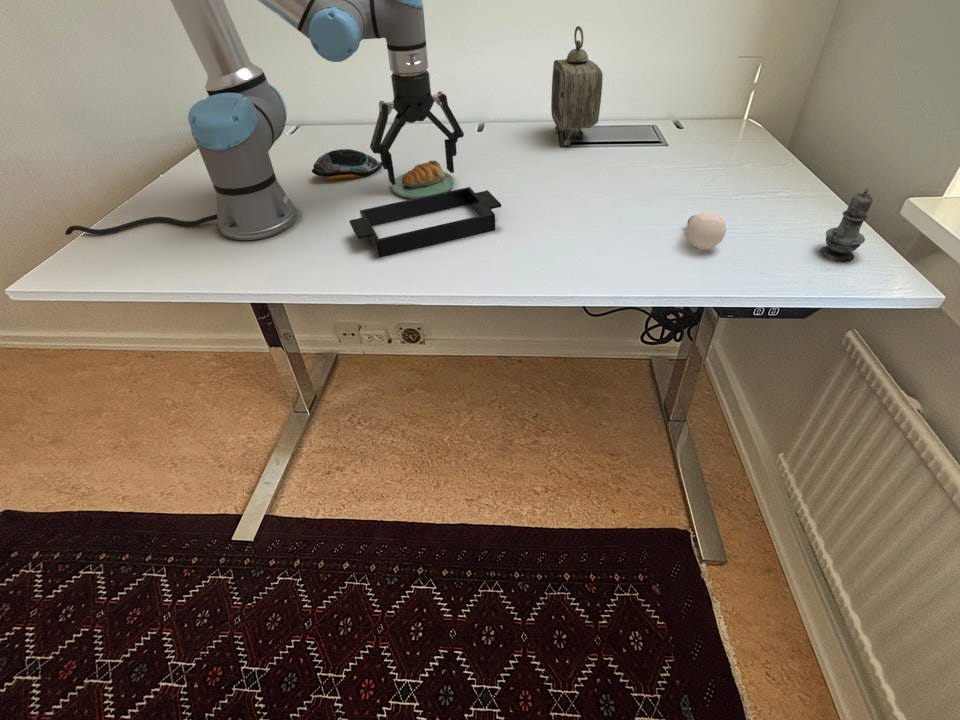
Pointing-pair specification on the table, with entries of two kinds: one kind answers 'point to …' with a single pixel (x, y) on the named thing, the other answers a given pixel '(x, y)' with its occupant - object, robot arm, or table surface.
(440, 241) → the pan
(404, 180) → the pastry
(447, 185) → the plate
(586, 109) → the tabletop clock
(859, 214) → the grey chess piece
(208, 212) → the table surface
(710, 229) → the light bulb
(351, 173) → the black domed oval piece
